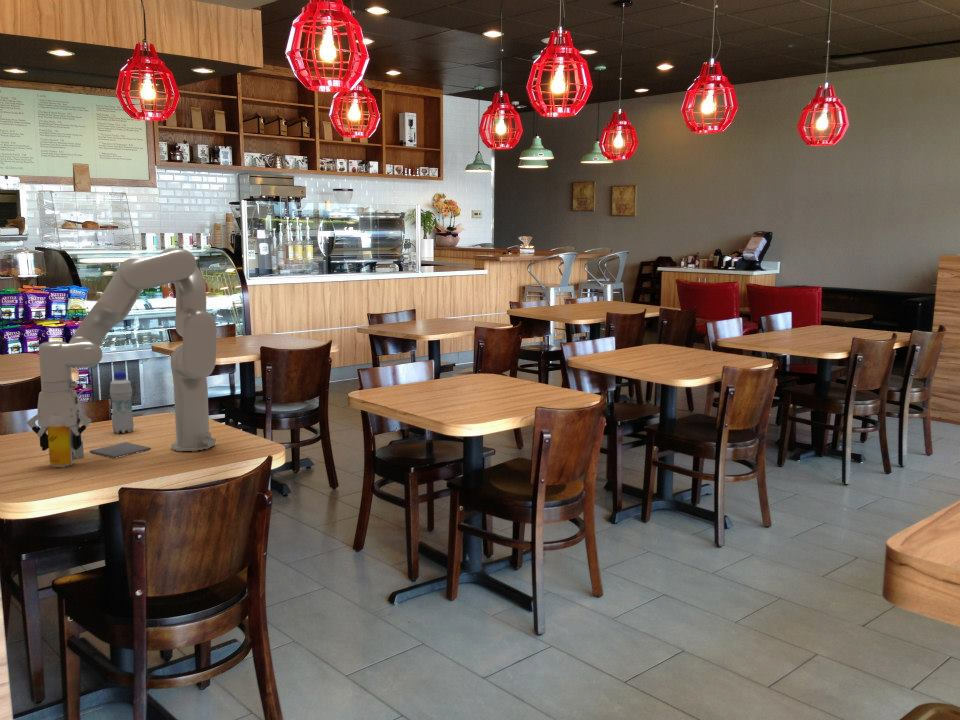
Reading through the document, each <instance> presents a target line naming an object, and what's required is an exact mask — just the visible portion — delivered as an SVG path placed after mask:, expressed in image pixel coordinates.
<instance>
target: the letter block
mask: <svg viewBox="0 0 960 720" xmlns="http://www.w3.org/2000/svg"><path fill="white" fill-rule="evenodd" d="M83 441H84V440H83V437H82V436H81V446H80V448H78V449H77V450H74V458H75V459H78V458H77V457H84V458H85V456H84V442H83Z"/></svg>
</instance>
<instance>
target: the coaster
mask: <svg viewBox="0 0 960 720" xmlns="http://www.w3.org/2000/svg"><path fill="white" fill-rule="evenodd" d="M150 449H151V450H152V447H150V446H146V445H140V444H136V443H132V442H127V441H126V442H125V441H124V442H121V443H116V444H113V445H109V446H104V447H100V448H95V449H90V450H89V453H90V452H91V454H94V453H95V454H94V455H98V454H99V456H102V455H104V456H103V457H106V456H109V457H108V458H110V457H113V458H112V459H114V458H115V459H117V458H116V457H119V456H123V455H127V454H131V455H133V454H132V453H135V454H137V453H136V452H139V453H142V452H141V451H143V452H147V451H150ZM146 450H147V451H146ZM127 456H128V455H127ZM123 457H124V456H123ZM119 458H120V457H119Z"/></svg>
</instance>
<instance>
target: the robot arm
mask: <svg viewBox="0 0 960 720" xmlns="http://www.w3.org/2000/svg"><path fill="white" fill-rule="evenodd" d="M171 283H173V285H174V288H175V289H174V290H175V316H174V318H175V320H174V328H175V331H176V332H177V334H178V335H179V336H180V337H182V344H179V345H178V346H176V347H175V349H174V350H173V351H172V353H171V356H170V369H171V374H172V381H173V394H174V395H173V396H174V399H173V400H174V416H175V418H174V419H175V437H176V438H175V439H176V441H174V442H172V443H171V445H170V448H171V450H173V451H175V450H176V452H182V451H192V452H199V451H198V450H201V451H204V450H203V449H206V450H208V449H207V448H210V447H212V446H214V445H215V446H216V441H217V439H216V438H215V437H212V432H210V420H209V419H210V415H209V413H210V412H209V394H208V393H209V390H208V381H207V380H208V379H207V378H208V377H209V376H210V375H212V373H213V371H214V369H215V367H216V360H217V337H218V335H217V334H218V329H217V323H216V320H215V318H214V316H213V315H212V314H211V313H210V312H208V311H207V289H206V288H207V286H206V281H205V278H204V275H203V274H202V272H201V270H200V268H199V267H198V265H197V260H196V258H195V256H194V254H193V253H192V252H191V251H189V250H186V249H184V248H177V247H175V248H174V247H172V248H171V247H170V248H166V249H164V250H162V251H161V252H160V253H159V254H156V255H152V256H147V257H144V258H128V259H126V260H124V261H123V262H121V264H120V265H119V267H117V270H116V271H115V273H114V274H113V276H112V277H111V279H110V281H109V282H108V284H107V286H106V287H105V289H104V290H103V291H102V294H101V295H100V296H99V298H98V299H97V301H96V302H95V304H94V305H93V306H92V308H91V309H90V311H89V312H88V314H86V315H85V317H84V318H83V320H82V321H81V323H80V324H79V325H78V327H77V328H76V330H75V332H74V333H73V336H71V338H70V340H69V341H68V343H67V342H65V341H59V340H58V341H45V342H42V343H40V344H39V347H38V360H39V361H38V362H39V372H40V385H41V391H40V392H39V393H38V400H37V414H35V415H34V416H33V417H31V418H30V419H29V420H28V421H26V424H27V425H28V426H29V428H31V430H32V432H34V433H35V434H36V435H37V436H38V437H39V447H41V451H46V450H49V443H48V430H47V428H48V418H49V417H50V416H52V415H58V414H60V416H62V417H63V418H64V422H65V425H66V427H68V428H69V427H70V429H71V430H72V431H73V433H74V436H73V448H74V450H77V449H78V448H80V446H81V437H82V433H84V431H85V430H87V428H88V427H89V426H90V424H91V423H92V419H91V418H89V417H88V416H86V415H85V414H83V413H82V412H81V406H80V401H79V397H78V396H77V395H78V393H77V390H76V389H74V388H77V387H78V384H79V383H78V382H76V381H74V380H73V378H72V368H86V369H87V368H93V367H95V366H97V365H99V363H100V362H101V361H102V359H103V351H102V348H101V344H102V342H103V340H104V339H105V337H106V336H107V334H108V333H109V332H110V331H111V330H112V329H113V328H114V327H115V326H116V325H118V324H119V323H122V321H124V319H126V318H127V317H128V315H129V313H130V311H131V310H132V308H133V306H134V305H135V304H136V301H137V300H138V298H139V297H140V295H141V294H142V293H143V291H144V290H148V289H152V288H158V287H161V286H164V285H167V284H171ZM36 422H37V423H36ZM81 422H83V424H82V425H81V426H80V423H81ZM37 424H38V425H37ZM78 424H79V425H78ZM215 446H214V447H215ZM212 448H213V447H212ZM210 449H211V448H210Z"/></svg>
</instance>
